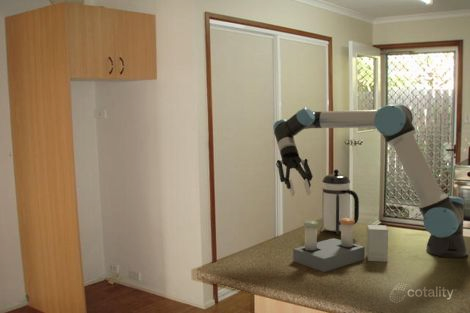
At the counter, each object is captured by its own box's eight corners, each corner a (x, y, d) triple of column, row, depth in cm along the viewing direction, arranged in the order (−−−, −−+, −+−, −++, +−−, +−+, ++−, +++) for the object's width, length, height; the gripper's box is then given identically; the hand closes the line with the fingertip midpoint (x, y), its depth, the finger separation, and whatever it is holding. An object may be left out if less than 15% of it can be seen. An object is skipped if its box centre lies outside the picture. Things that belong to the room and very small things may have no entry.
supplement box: (387, 262, 183) (388, 229, 181) (367, 261, 184) (368, 229, 183) (385, 256, 190) (386, 225, 189) (366, 255, 191) (366, 224, 190)
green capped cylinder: (321, 248, 183) (321, 222, 182) (310, 251, 180) (310, 225, 179) (310, 245, 187) (310, 220, 186) (300, 248, 184) (300, 222, 183)
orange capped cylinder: (357, 245, 186) (357, 219, 185) (347, 248, 183) (348, 222, 182) (346, 242, 191) (346, 217, 190) (336, 244, 188) (336, 219, 187)
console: (364, 259, 186) (364, 246, 186) (324, 272, 173) (324, 258, 172) (333, 249, 199) (333, 238, 199) (293, 261, 185) (293, 248, 185)
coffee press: (320, 235, 221) (320, 171, 217) (319, 227, 236) (319, 167, 233) (358, 236, 218) (359, 172, 215) (355, 228, 233) (356, 167, 230)
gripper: (306, 154, 211) (320, 198, 197) (265, 156, 207) (276, 200, 193) (311, 143, 205) (326, 187, 191) (268, 145, 201) (280, 190, 187)
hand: (301, 194), depth 192 cm, fingers open, 6 cm apart
